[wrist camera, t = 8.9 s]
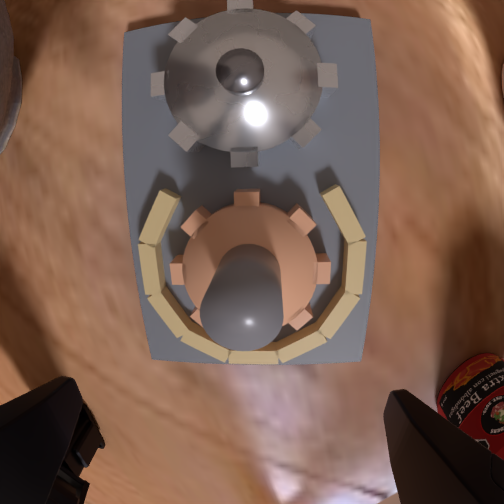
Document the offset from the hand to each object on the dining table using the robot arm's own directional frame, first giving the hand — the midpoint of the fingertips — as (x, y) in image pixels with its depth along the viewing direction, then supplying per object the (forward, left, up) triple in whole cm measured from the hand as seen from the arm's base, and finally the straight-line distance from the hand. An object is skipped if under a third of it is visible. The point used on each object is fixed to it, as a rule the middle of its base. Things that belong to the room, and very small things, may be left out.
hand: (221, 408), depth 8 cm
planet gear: (0, 0, -11) cm, 11 cm away
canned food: (+19, -12, -12) cm, 26 cm away
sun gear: (0, +10, -11) cm, 15 cm away
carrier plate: (0, +4, -12) cm, 13 cm away
